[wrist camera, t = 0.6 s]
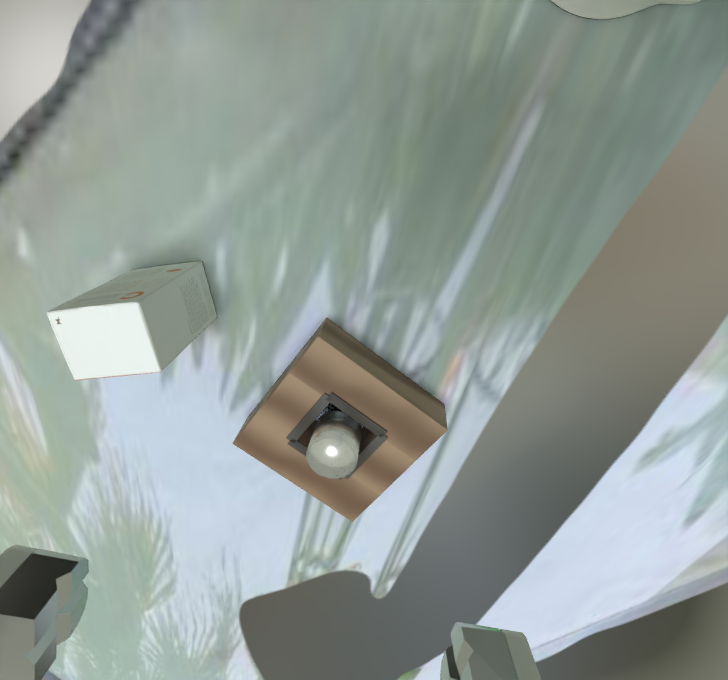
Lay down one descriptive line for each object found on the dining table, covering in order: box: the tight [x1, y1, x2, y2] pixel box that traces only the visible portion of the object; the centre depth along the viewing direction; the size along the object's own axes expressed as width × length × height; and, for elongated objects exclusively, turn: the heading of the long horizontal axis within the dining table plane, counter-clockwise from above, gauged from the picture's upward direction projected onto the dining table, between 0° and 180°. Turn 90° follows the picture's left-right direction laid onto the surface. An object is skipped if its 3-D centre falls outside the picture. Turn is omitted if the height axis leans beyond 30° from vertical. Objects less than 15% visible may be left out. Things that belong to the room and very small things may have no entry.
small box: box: [47, 261, 217, 380], centre depth 45 cm, size 8×6×13 cm
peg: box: [306, 411, 362, 479], centre depth 49 cm, size 5×5×5 cm
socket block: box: [233, 318, 447, 522], centre depth 52 cm, size 16×16×5 cm
